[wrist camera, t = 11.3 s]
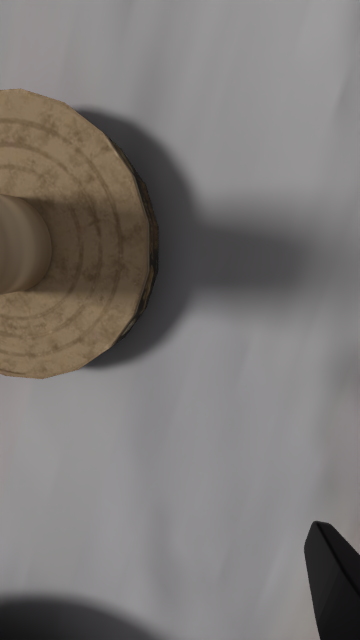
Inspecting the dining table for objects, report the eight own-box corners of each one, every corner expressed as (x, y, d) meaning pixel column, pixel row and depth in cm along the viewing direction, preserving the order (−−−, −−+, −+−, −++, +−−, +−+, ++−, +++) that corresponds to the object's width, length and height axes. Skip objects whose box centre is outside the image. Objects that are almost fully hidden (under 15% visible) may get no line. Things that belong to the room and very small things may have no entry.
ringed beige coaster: (85, 56, 18) (57, 19, 15) (204, 306, 20) (198, 315, 17) (-103, 194, 22) (-154, 184, 19) (10, 395, 24) (-22, 414, 21)
